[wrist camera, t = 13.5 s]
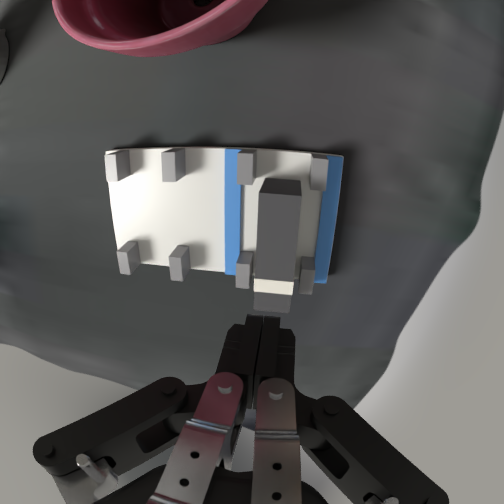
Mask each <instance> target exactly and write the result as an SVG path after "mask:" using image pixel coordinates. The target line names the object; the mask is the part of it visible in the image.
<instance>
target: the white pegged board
mask: <svg viewBox="0 0 504 504" xmlns="http://www.w3.org/2000/svg"><path fill="white" fill-rule="evenodd" d="M343 159H344V157H343V156H342V155H335V154H326V153H316V152H305V151H293V150H280V149H263V148H241V147H151V148H130V149H114V150H109V151H106V155H105V167H106V178H107V182H109V191H110V200H111V208H112V216H113V223H114V230H115V236H116V242H117V248H118V251H117V257H118V262H119V267H120V272H121V273H122V274H129V275H131V274H132V273H133V271H134V270H135V269H136V268H137V267H138V266H139V265H140V264H141V263H145V264H154V265H163V266H170V275H171V280H175V281H183V280H184V279H185V277H186V275H187V274H188V272H189V270H190V269H200V270H210V271H219V272H225V274H228V275H236V287H237V288H247V289H249V287H250V283H251V279H252V275H255V266H256V243H257V219H258V196H259V191H260V189H261V186H262V184H263V182H264V180H265V178H275V179H288V180H300V181H301V192H302V200H301V211H300V221H299V232H298V241H297V251H296V260H295V269H294V279H299V293H300V294H312V290H313V283H314V282H315V283H326V281H327V276H328V270H329V264H330V258H331V252H332V246H333V239H334V232H335V225H336V218H337V211H338V203H339V195H340V187H341V178H342V169H343Z"/></svg>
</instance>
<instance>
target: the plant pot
mask: <svg viewBox="0 0 504 504" xmlns="http://www.w3.org/2000/svg"><path fill="white" fill-rule="evenodd" d="M267 1H268V0H212V1H211V3H209V4H208V5H206V6H202V7H200V6H197V5H195V3H194V0H52V4H53V9H54V12H55V15H56V17H57V19H58V21H59V23H60V24H61V26H62V27H63V29H64V30H65V31H66V32H67V33H68V34H69V35H70V36H72V37H73V38H75V39H76V40H78V41H80V42H81V43H84V44H86V45H88V46H92V47H95V48H99V49H102V50H107V51H111V52H115V53H120V54H125V55H130V56H137V57H157V56H166V55H172V54H177V53H182V52H185V51H189V50H192V49H195V48H198V47H201V46H204V45H212V44H216V43H220V42H223V41H226V40H228V39H230V38H232V37H234V36H235V35H237V34H238V33H240V32H241V31H242V30H244V29H245V28H246V27H247V26H248V25H249V23H250V22H251V21H252V19H253V18H254V16H255V14H256V13H257V12H258V11H259V10H260V9H261V8H262V7H263V6H264V5H265V4H266V3H267Z"/></svg>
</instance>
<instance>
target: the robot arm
mask: <svg viewBox="0 0 504 504" xmlns="http://www.w3.org/2000/svg"><path fill="white" fill-rule="evenodd" d="M5 31H6V29H0V82H1V80H2V78H3V76H4V73H5V70H6V66H7V62H8V54H9V46H8V41H7V39H6V36H5ZM294 364H295V336H294V334H293V332H292V330H291V329H282V328H280V317H274V316H264V322H263V316H262V315H252V314H247V317H246V322H245V325H240V324H234V325H233V326H232V327H231V328H230V329H229V330H228V332H227V336H226V339H225V343H224V346H223V349H222V353H221V356H220V360H219V363H218V366H217V370H216V373H215V375H213V376H212V377H211V378H210V379H209V380H208V381H207V382H205V383H202V384H196V385H185V384H184V382H183V381H181V380H180V379H178V378H175V377H164V378H161V379H159V380H157V381H155V382H153V383H152V384H150V385H148V386H146V387H144V388H142V389H140V390H138V391H136V392H134V393H132V394H131V395H129V396H127V397H125V398H123V399H121V400H119V401H117V402H115V403H113V404H111V405H109V406H107V407H105V408H103V409H101V410H99V411H97V412H95V413H92V414H91V415H88V416H86V417H85V418H82V419H80V420H78V421H76V422H73V423H71V424H69V425H67V426H65V427H62V428H60V429H58V430H56V431H54V432H51V433H49V434H47V435H45V436H42V437H40V438H39V439H38V440H37V441H36V442H35V444H34V446H33V455H34V458H35V459H36V461H37V462H38V463H39V464H40V465H41V466H42V467H44V468H45V469H46V471H47V472H48V473H49V474H51V475H52V477H53V478H54V481H55V483H56V485H57V487H58V488H59V491H60V493H61V495H62V496H63V498H64V500H65V502H66V504H328V503H327V501H326V500H325V499H324V498H323V497H322V496H321V495H320V493H319V492H318V491H316V490H315V489H314V488H313V487H312V486H310V485H308V484H307V483H305V482H303V481H301V462H300V445H301V446H302V448H303V450H304V451H305V452H306V453H307V454H308V455H309V457H310V458H311V459H312V460H313V461H314V462H315V463H316V464H317V466H318V467H319V468H320V469H321V470H322V471H323V472H324V473H325V474H326V475H327V477H329V479H330V480H331V481H332V482H333V483H334V484H335V485H336V486H337V487H338V488H339V489H340V490H341V491H342V492H343V493H344V494H345V495H346V496H347V498H348V499H350V501H351V502H352V503H353V504H449V498H448V495H447V494H446V492H445V491H444V490H443V489H441V488H440V487H439V486H438V485H437V484H435V483H434V482H433V481H432V480H431V479H429V478H428V477H427V476H426V475H425V474H424V473H422V471H420V470H419V469H418V468H417V467H416V466H415V465H413V464H412V463H411V462H410V461H409V460H408V459H407V458H406V457H404V456H403V455H402V454H401V453H400V452H399V451H398V450H397V449H395V448H394V447H393V446H392V445H391V444H390V443H389V442H388V441H387V440H386V439H384V438H383V437H382V436H381V435H380V434H379V433H378V432H377V431H376V430H375V429H374V428H373V427H371V426H370V425H369V424H368V423H367V422H366V421H365V420H364V419H363V418H362V417H361V416H360V415H359V414H358V413H356V412H355V411H354V410H353V409H352V408H351V407H350V406H349V405H348V404H347V403H346V402H345V401H344V400H342V399H341V398H339V397H336V396H324V397H321V398H319V399H318V400H316V399H313V398H310V397H307V396H305V395H303V394H302V393H300V392H299V391H298V390H297V388H296V387H295V384H294ZM253 397H254V401H253ZM252 403H253V409H256V422H255V439H254V455H253V470H252V471H249V472H233V471H231V465H232V459H233V455H234V452H235V449H236V445H237V442H238V439H239V435H240V432H241V428H242V425H243V420H244V417H245V412H246V408H248V409H252ZM173 445H175V447H174V449H173V451H172V454H171V456H170V458H169V460H168V463H167V464H165V465H162V466H159V467H156V468H154V469H152V470H151V471H149V472H147V473H146V474H144V475H142V476H141V477H139V478H137V479H136V480H134V481H132V482H130V483H129V484H127V485H125V486H124V487H122V488H120V489H118V490H116V491H115V492H113V493H111V494H109V493H110V492H112V491H113V490H114V489H115V488H116V487H117V484H118V476H119V475H121V474H123V473H125V472H127V471H129V470H131V469H132V468H134V467H136V466H138V465H140V464H142V463H144V462H145V461H147V460H149V459H151V458H152V457H154V456H156V455H158V454H159V453H161V452H163V451H164V450H166V449H168V448H170V447H171V446H173ZM108 494H109V495H108Z"/></svg>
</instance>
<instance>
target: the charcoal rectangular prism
mask: <svg viewBox="0 0 504 504" xmlns="http://www.w3.org/2000/svg"><path fill="white" fill-rule="evenodd" d="M301 200H302V192H301V181H300V180H288V179H275V178H265V180H264V182H263V184H262V186H261V189H260V191H259V196H258V219H257V243H256V266H255V278H254V310H260V311H270V312H280V313H289V311H290V303H291V295H292V292H293V284H294V269H295V260H296V251H297V241H298V232H299V221H300V211H301Z"/></svg>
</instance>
